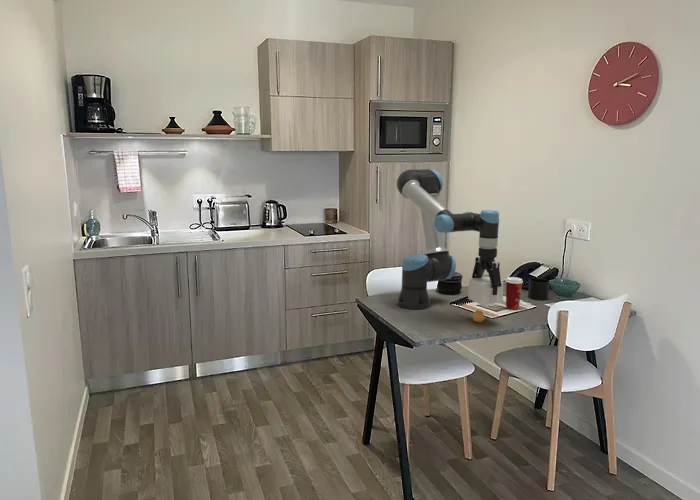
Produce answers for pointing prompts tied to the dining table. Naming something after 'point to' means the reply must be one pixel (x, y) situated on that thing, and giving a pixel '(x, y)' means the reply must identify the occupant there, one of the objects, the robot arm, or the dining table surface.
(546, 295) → the mug
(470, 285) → the plain off-white cube
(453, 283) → the container
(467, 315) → the dining table surface
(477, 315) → the ball
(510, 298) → the paper cup
